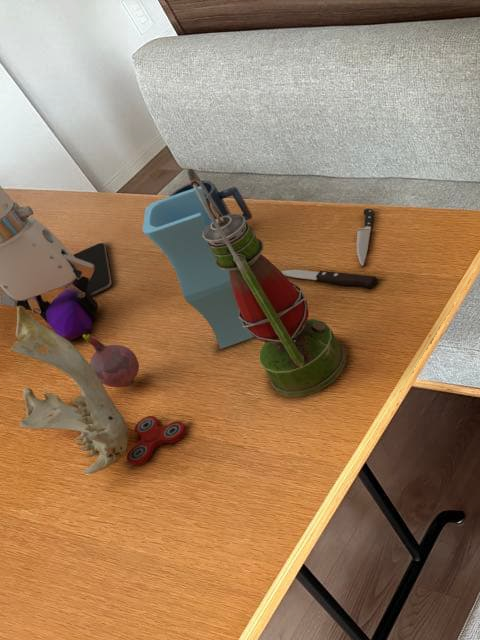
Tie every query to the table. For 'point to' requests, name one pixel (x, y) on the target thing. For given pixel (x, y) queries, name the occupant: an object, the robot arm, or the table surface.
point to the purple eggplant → (68, 316)
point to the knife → (364, 236)
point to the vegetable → (113, 363)
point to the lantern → (272, 307)
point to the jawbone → (94, 407)
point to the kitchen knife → (334, 277)
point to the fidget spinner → (153, 438)
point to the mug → (220, 198)
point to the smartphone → (96, 268)
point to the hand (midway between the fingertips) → (77, 318)
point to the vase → (196, 262)
